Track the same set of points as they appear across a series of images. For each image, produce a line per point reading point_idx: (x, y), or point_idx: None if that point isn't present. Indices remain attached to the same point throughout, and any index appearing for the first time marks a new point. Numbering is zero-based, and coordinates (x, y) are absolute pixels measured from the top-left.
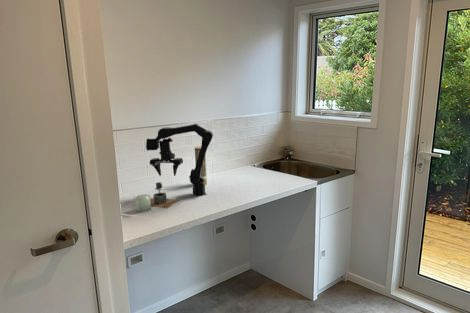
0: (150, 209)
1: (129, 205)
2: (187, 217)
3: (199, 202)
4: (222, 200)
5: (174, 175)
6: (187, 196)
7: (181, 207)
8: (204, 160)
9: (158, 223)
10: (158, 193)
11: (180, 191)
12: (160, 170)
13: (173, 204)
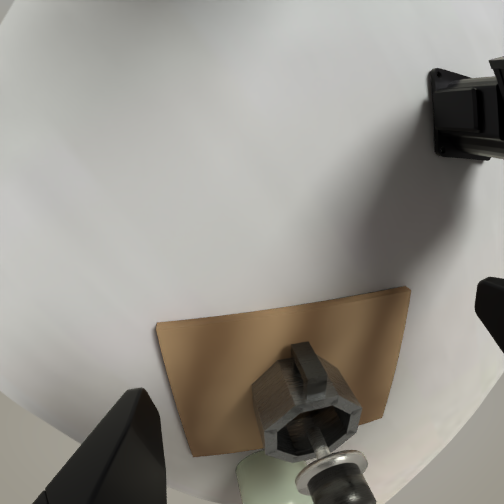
0: (305, 462)
1: None
2: (468, 403)
3: (493, 246)
4: None
5: (485, 316)
6: (401, 159)
7: (434, 355)
8: None
9: (391, 475)
10: (285, 424)
11: (260, 39)
12: (111, 485)
13: (394, 369)
